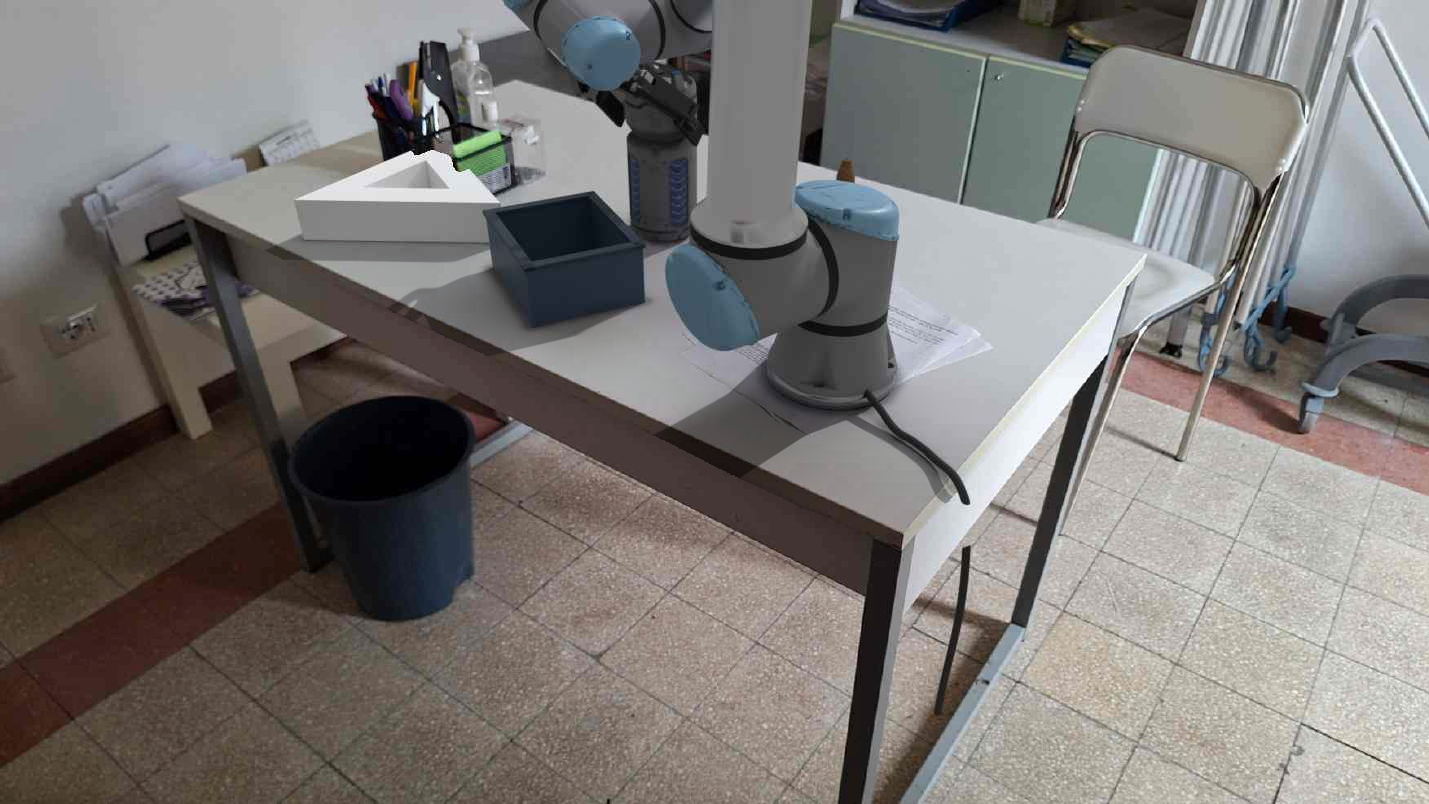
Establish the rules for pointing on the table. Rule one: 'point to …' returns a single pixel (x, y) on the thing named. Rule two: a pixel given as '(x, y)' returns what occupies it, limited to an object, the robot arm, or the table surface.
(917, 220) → the table surface
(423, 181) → the triangle block
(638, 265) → the dark blue open box
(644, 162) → the grey piece
